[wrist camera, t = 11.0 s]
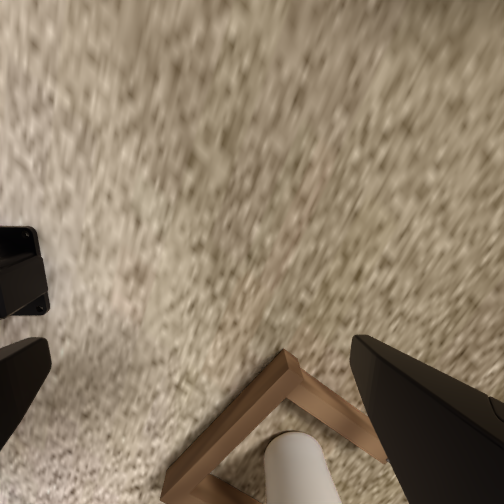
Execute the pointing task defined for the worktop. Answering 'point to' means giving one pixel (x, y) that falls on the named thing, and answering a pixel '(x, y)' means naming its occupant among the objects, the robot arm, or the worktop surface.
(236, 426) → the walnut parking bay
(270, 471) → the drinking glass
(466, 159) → the worktop surface
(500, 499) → the robot arm
